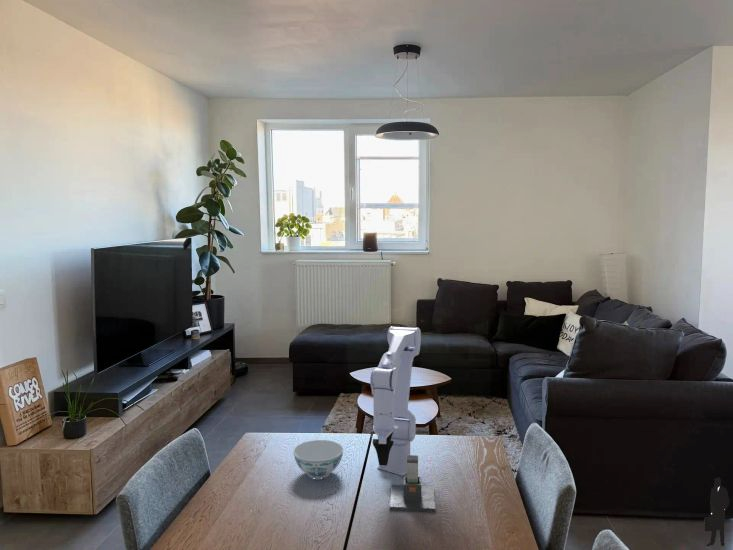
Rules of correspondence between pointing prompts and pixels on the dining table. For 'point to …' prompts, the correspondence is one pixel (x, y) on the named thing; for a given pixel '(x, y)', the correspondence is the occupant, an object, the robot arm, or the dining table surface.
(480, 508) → the dining table surface
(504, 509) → the dining table surface
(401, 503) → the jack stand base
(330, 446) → the chinaware
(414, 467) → the column
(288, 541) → the dining table surface
